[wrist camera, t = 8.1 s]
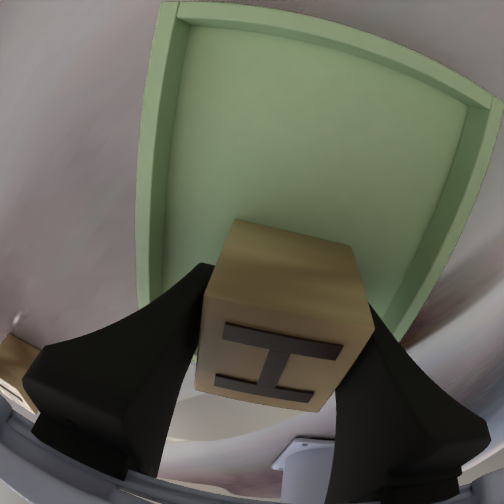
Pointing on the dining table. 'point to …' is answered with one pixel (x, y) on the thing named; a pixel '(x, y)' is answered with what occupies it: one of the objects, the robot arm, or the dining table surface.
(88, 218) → the dining table surface
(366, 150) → the tray
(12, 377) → the wooden i block
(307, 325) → the wooden h block
